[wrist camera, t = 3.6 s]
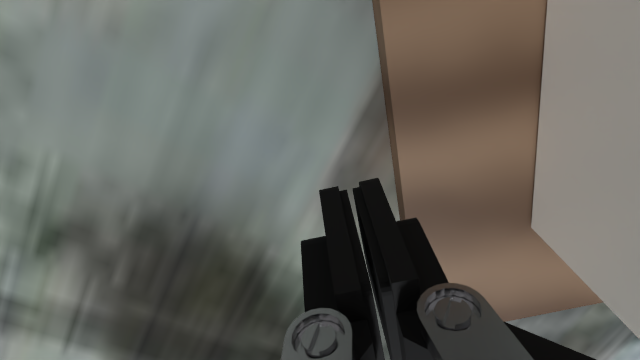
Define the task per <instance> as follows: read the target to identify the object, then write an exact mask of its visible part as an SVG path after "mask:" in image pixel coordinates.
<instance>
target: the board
mask: <svg viewBox="0 0 640 360" xmlns="http://www.w3.org/2000/svg"><path fill="white" fill-rule="evenodd" d="M372 2H373V10H374V18H375V26H376V34H377V42H378V50H379V57H380V65H381V73H382V81H383V89H384V97H385V105H386V113H387V121H388V128H389V136H390V144H391V152H392V160H393V168H394V176H395V184H396V192H397V200H398V207H399V215H400V221H401V220H406V219H411V218H417V219H418V220H419V222H420V224H421V226H422V228H423V230H424V232H425V234H426V237H427V239H428V241H429V243H430V245H431V247H432V249H433V251H434V253H435V255H436V257H437V259H438V261H439V263H440V265H441V267H442V270H443V272H444V274H445V276H446V278H447V280H448V282H449V283H458V284H462V285H466V286H469V287H471V288H472V289H474V290H476V291H478V292H479V293H480V294H481V295H482V296H483V297H484V298H485V299H486V300H487V302H488V303H489V304H490V305H491V307H492V308H493V309H494V310H495V312H496V313H497V314H498V315H499V317H500V318H501V319H502V320H503V322H506V321H511V320H516V319H521V318H526V317H531V316H536V315H541V314H546V313H551V312H556V311H561V310H566V309H571V308H576V307H581V306H586V305H591V304H596V303H601V302H603V301H602V300H601V299H600V298H599V297H598V296H597V295H596V294H595V293H594V292H593V291H592V290H591V289H590V288H589V287H588V286H587V285H586V284H585V282H584V281H583V280H582V279H581V278H580V277H579V276H578V275H577V274H576V273H575V272H574V271H573V270H572V269H571V268H570V267H569V266H568V265H567V264H566V263H565V262H564V261H563V260H562V259H561V258H560V257H559V256H558V255H557V254H556V253H555V252H554V251H553V249H552V248H551V247H550V246H549V245H548V244H547V243H546V242H545V241H544V240H543V239H542V238H541V237H540V236H539V235H538V234H537V233H536V232H535V231H534V230H533V229H532V228H531V223H532V209H533V195H534V181H535V167H536V153H537V139H538V125H539V111H540V98H541V84H542V70H543V56H544V42H545V28H546V14H547V0H372Z"/></svg>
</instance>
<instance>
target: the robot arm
mask: <svg viewBox="0 0 640 360" xmlns="http://www.w3.org/2000/svg"><path fill="white" fill-rule="evenodd" d="M319 192H320V199H321V206H322V213H323V220H324V227H325V234H326V236H323V237H318V238H313V239H308V240H303V241H301V254H302V271H303V288H304V305H305V313H303V314H301V315H300V316H299V317H297V318H296V319H295V320H294V321H293V322H292V323H291V325H290V326H289V327H288V329H287V332H286V335H285V338H284V343H283V349H282V355H281V360H385V358H384V353H383V347H382V342H381V336H380V331H379V326H378V320H377V315H376V309H375V304H374V298H373V293H374V297H375V300H376V304H377V308H378V312H379V316H380V320H381V324H382V328H383V332H384V336H385V339H386V343H387V347H388V351H389V355H390V359H391V360H596V359H593V358H591V357H589V356H586V355H584V354H581V353H579V352H576V351H574V350H572V349H569V348H567V347H564V346H562V345H559V344H557V343H554V342H552V341H550V340H547V339H545V338H542V337H540V336H537V335H535V334H533V333H530V332H528V331H525V330H523V329H520V328H518V327H515V326H513V325H511V324H508V323H506V322H503V320H502V319H501V318H500V317H499V315H498V314H497V313H496V312H495V310H494V309H493V308H492V307H491V305H490V304H489V303H488V302H487V300H486V299H485V298H484V297H483V296H482V295H481V294H480V293H479V292H478V291H476V290H474V289H472V288H471V287H469V286H466V285H462V284H458V283H449V282H448V280H447V278H446V276H445V274H444V272H443V270H442V267H441V265H440V263H439V261H438V259H437V257H436V255H435V253H434V251H433V249H432V247H431V245H430V243H429V241H428V239H427V237H426V234H425V232H424V230H423V228H422V226H421V224H420V222H419V220H418V219H417V218H411V219H406V220H401V221H395V218H394V216H393V213H392V211H391V208H390V206H389V203H388V201H387V198H386V196H385V193H384V191H383V188H382V186H381V183H380V181H379V179H378V178H375V179H370V180H366V181H361V182H359V187H357V188H353V194H354V200H355V205H356V211H357V216H358V221H359V227H360V232H361V238H362V243H363V249H364V254H365V259H366V264H367V268H366V264H365V260H364V256H363V252H362V248H361V244H360V240H359V236H358V232H357V228H356V225H355V221H354V217H353V213H352V209H351V205H350V201H349V197H348V193H347V190H343V191H339V188H338V186H337V187H332V188H327V189H323V190H319ZM367 269H368V272H367ZM368 273H369V276H368ZM369 277H370V280H369ZM370 281H371V284H370ZM371 285H372V288H371ZM372 289H373V293H372Z"/></svg>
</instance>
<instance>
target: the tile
mask: <svg viewBox="0 0 640 360" xmlns="http://www.w3.org/2000/svg"><path fill="white" fill-rule="evenodd" d="M531 228H532V229H533V230H534V231H535V232H536V233H537V234H538V235H539V236H540V237H541V238H542V239H543V240H544V241H545V242H546V243H547V244H548V245H549V246H550V247H551V248H552V249H553V251H554V252H555V253H556V254H557V255H558V256H559V257H560V258H561V259H562V260H563V261H564V262H565V263H566V264H567V265H568V266H569V267H570V268H571V269H572V270H573V271H574V272H575V273H576V274H577V275H578V276H579V277H580V278H581V279H582V280H583V281H584V282H585V284H586V285H587V286H588V287H589V288H590V289H591V290H592V291H593V292H594V293H595V294H596V295H597V296H598V297H599V298H600V299H601V300H602V301H603V302H604V303H605V304H606V305H607V306H608V307H609V308H610V309H611V310H612V311H613V312H614V313H615V314H616V315H617V316H618V318H619V319H620V320H621V321H622V322H623V323H624V324H625V325H626V326H627V327H628V328H629V329H630V330H631V331H632V332H633V333H634V334H635V335H636V336H637V337H638V338H639V339H640V0H547V14H546V28H545V42H544V56H543V70H542V84H541V98H540V111H539V125H538V139H537V153H536V167H535V181H534V195H533V209H532V223H531Z"/></svg>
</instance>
